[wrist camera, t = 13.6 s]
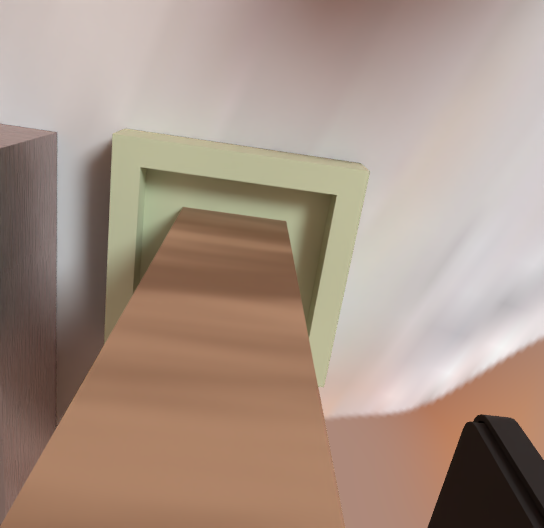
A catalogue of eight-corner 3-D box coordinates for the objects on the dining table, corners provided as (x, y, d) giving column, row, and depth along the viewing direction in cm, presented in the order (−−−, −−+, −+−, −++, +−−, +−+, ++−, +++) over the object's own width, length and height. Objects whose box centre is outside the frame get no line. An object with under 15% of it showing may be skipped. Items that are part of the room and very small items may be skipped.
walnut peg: (183, 206, 20) (-62, 634, 5) (286, 221, 20) (372, 665, 5) (174, 301, 21) (-37, 870, 6) (271, 313, 21) (302, 883, 6)
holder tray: (125, 128, 19) (112, 134, 17) (360, 163, 20) (370, 171, 18) (114, 340, 22) (103, 362, 20) (319, 364, 23) (324, 387, 21)
